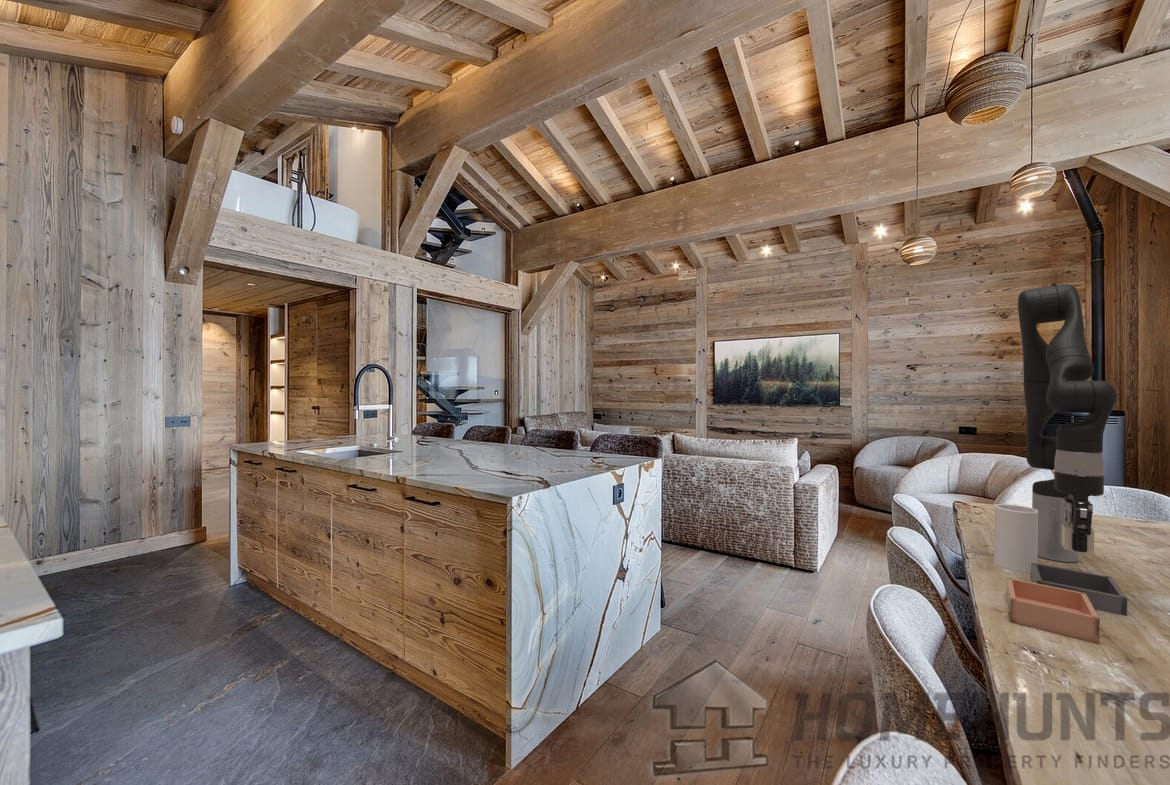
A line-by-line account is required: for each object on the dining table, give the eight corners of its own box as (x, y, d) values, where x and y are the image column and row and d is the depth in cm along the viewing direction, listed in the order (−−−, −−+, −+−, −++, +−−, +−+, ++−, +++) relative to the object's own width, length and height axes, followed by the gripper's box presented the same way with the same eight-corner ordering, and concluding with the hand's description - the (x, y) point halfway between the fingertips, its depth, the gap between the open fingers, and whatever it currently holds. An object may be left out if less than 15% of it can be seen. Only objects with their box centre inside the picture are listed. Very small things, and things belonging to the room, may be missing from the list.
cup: (1022, 577, 114) (1023, 513, 114) (985, 565, 122) (986, 504, 122) (1045, 574, 116) (1046, 510, 116) (1008, 562, 124) (1009, 502, 124)
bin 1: (1006, 597, 103) (1006, 577, 103) (1085, 614, 96) (1085, 593, 96) (1010, 621, 93) (1010, 599, 93) (1099, 643, 85) (1099, 618, 85)
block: (1061, 543, 106) (1061, 522, 106) (1089, 547, 103) (1090, 526, 103) (1064, 549, 102) (1064, 527, 102) (1093, 553, 100) (1094, 531, 100)
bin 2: (1030, 580, 112) (1031, 562, 112) (1111, 596, 104) (1111, 576, 104) (1036, 601, 102) (1037, 580, 102) (1126, 620, 93) (1127, 598, 93)
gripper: (1050, 464, 110) (1049, 536, 111) (1059, 474, 99) (1058, 553, 100) (1096, 468, 105) (1095, 543, 106) (1111, 478, 94) (1110, 562, 95)
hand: (1077, 547), depth 103 cm, fingers closed on block, 4 cm apart
